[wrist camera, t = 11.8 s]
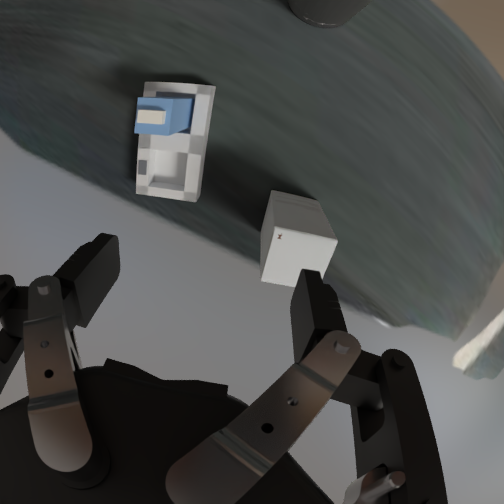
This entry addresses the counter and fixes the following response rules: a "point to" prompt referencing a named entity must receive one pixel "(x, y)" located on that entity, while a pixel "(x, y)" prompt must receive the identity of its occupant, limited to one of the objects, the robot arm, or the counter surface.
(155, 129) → the plug
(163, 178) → the jack panel
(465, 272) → the counter surface
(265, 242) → the supplement box
